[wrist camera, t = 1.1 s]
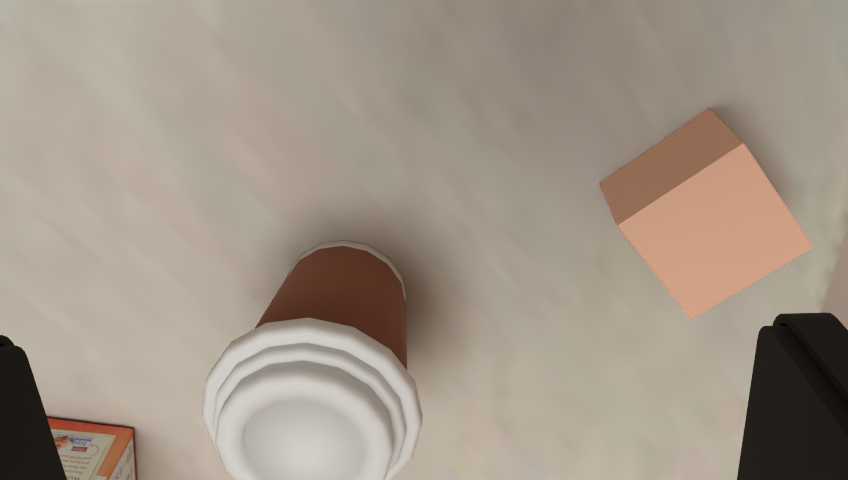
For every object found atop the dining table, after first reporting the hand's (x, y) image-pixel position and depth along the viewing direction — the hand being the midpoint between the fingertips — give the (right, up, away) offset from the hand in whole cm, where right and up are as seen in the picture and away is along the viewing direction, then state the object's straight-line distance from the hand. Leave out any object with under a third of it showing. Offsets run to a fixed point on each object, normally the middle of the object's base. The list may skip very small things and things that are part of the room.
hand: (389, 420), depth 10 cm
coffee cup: (-4, -1, +31) cm, 31 cm away
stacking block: (+13, +5, +27) cm, 30 cm away
